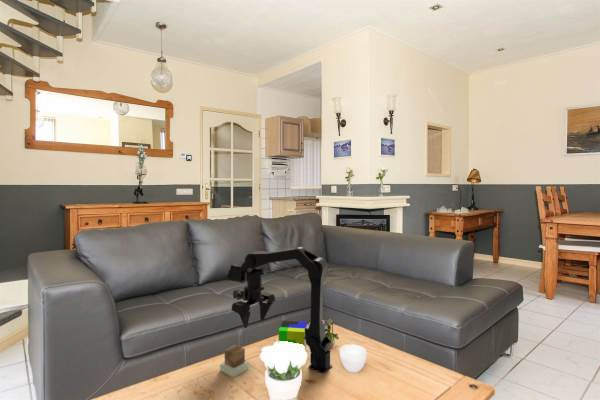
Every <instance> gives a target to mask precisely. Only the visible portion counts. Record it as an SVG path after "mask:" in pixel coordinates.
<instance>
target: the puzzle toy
mask: <svg viewBox="0 0 600 400" xmlns="http://www.w3.org/2000/svg"><path fill="white" fill-rule="evenodd" d="M307 325H308V323H307V321H294V320H282V321H281V324H280V326H279V329H278V342H279V341H288V342H293V343H299V344H303V345H304V346H305V348H306V347H307V344H306V339H305V340H304V338H305V327H306V326H307Z"/></svg>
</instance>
